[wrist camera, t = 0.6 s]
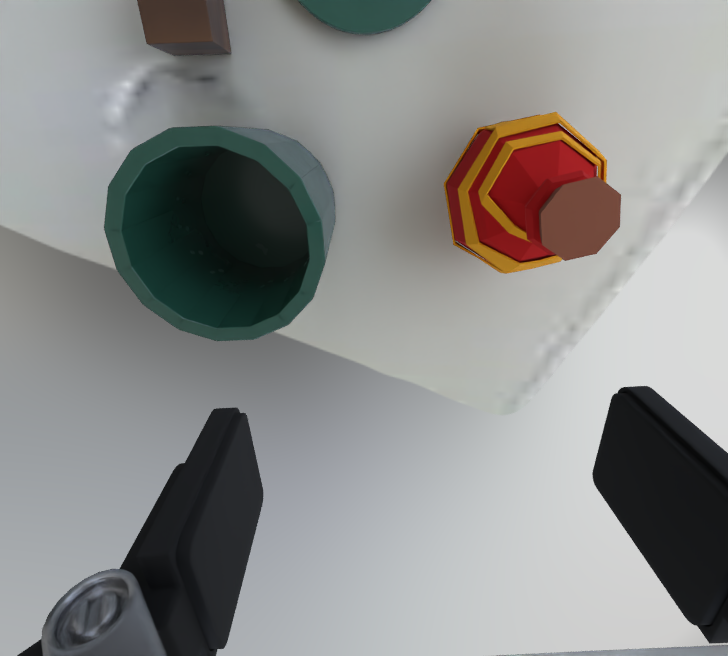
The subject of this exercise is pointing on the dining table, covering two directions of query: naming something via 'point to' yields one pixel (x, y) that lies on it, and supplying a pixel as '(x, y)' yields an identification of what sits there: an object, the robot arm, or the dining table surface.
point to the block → (185, 26)
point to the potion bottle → (530, 195)
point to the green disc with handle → (364, 13)
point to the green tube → (221, 228)
